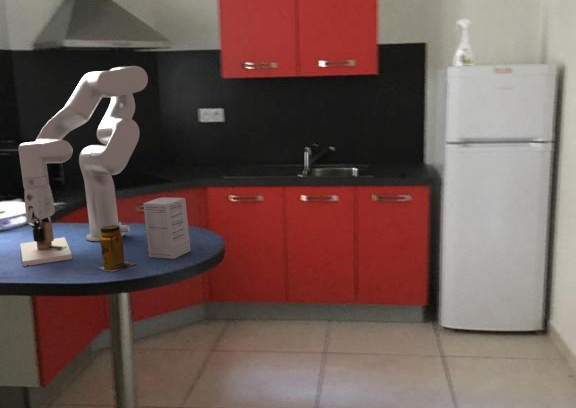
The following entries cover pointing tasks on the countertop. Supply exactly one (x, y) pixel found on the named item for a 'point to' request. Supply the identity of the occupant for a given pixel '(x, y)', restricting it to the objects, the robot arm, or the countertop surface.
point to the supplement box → (167, 227)
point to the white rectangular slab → (45, 252)
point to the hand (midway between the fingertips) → (43, 238)
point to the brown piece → (47, 237)
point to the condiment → (112, 249)
